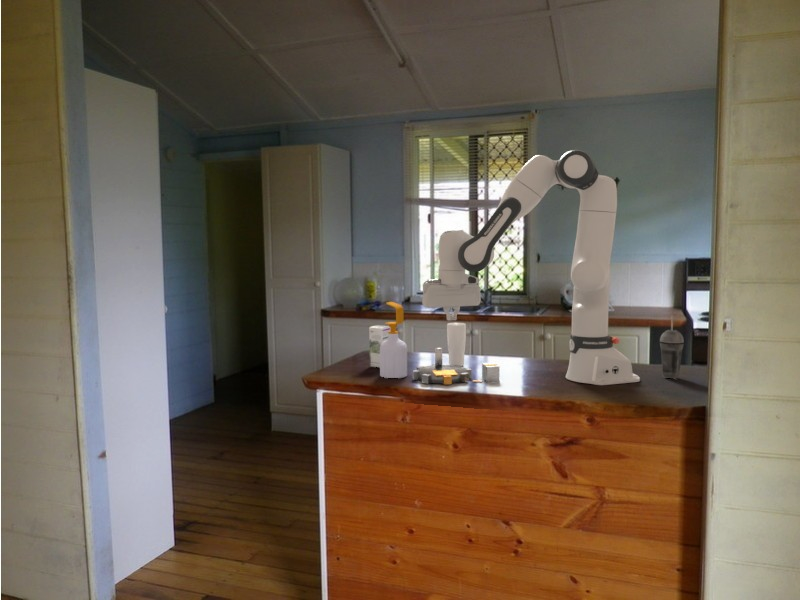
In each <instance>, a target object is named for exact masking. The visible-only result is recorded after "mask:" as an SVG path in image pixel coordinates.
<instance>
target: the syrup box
mask: <svg viewBox="0 0 800 600" xmlns="http://www.w3.org/2000/svg"><path fill="white" fill-rule="evenodd" d="M388 331H391V327H389V325H378V324H377V325H372V326H369V328H368V333H369V334H368V337H369V338H368V339H369V343H368V344H369V345H368V346H369V367H371V368H376V367H377V368H378V369H380V345H381V343H383V342H384V341H385V340H387V339H388ZM377 368H376V369H377Z"/></svg>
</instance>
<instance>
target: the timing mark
mask: <svg viewBox="0 0 800 600" xmlns="http://www.w3.org/2000/svg"><path fill="white" fill-rule="evenodd" d="M483 381H484V380H478V379H477V380H476V379H473V380H472V381H471V382H473V383H480V382H482V383H483Z"/></svg>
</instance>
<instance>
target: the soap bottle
mask: <svg viewBox="0 0 800 600" xmlns="http://www.w3.org/2000/svg"><path fill="white" fill-rule="evenodd" d="M385 305H388V306H390V307H392V308H394V309H395V321H388V322H385V323H384V325H385V326H389V327H390V331H388V339H387V340H385V341H384V342H383V343H381V345H380V368H379V377H381V378H383V377H384V379H388V378H398V379H402V378H405V377H407V376H408V346H407V343H406V342H404V341H403V340H401V339H400V338H399V331H398V330H396V328H397V327H398V325H400V324H403V323H404V320H405V319H404V307H403V306H402V305H401V304H399V303H396V302H394V301H388V302H387V301H386V303H385Z"/></svg>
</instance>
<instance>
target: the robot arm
mask: <svg viewBox="0 0 800 600" xmlns="http://www.w3.org/2000/svg"><path fill="white" fill-rule="evenodd" d="M554 186H559V187H562V188H564V189H568V190H577V191H578V193H579V197H580V198H579V199H580V200H579V201H580V202H579V208H578V209H579V210H578V217H577V219H578V220H577V228H576V236H575V237H576V238H575V242H574V243H575V244H574V249H573V253H572V254H573V256H572V262H571V268H570V280H571V282H572V283H571V284H573V294H572V306H571V307H572V308H571V333H570V335H569V352H570V355H569V362H568V368H567V372H566V374H565V378H566V380H568V381H572V382H575V383H583V384H591V385H595V386H609V385H617V384H627V383H628V384H629V383H639V382H640V381H641V380H640V379H641V377H640V376H639V375H638V374H635V373H634V372H633V367H632V362H631V361H630V359H629V357H626V355H624V354H623V353H622V352H620V351H619V350H618V349H616V348H615V347H614V344H615V345H618V344H620V339H619V337H615V336H613V337H612V336H610V335H609V305H610V287H611V285H610V284H611V283H610V282H611V269H610V265H611V258H612V257H611V256H612V250H613V243H614V236H615V226H616V220H617V219H616V218H617V207H618V190H617V189H618V188H617V183H616V181H615V180H614V179H613V178H612V177H610V176H608V175H604V174H603V175H602V174H599V171H598V168H597V167H596V165H595V163H594V160H593V158H592V157H591V155H589V153H587V152H586V151H584V150H580V149H572V150H569V151H566V152H565V153H563V155H561V157H560V158H559V159H557V160H553V159H551V158H550V157H548V156H546V155H541V154H536V155H534V156H533V157H532V158H530V159H529V160H528V161H527V162H526V163H525V164H524V165H523V166H522V167H521V168H520V169H519V170H518V172H517V173H516V174H515V176H514V177H513V178H512V180H511V181H510V183H509V184H508V186H507V188H506V189H505V191H504V193H503V195H502V198H501V199H500V202H499V203H498V206H497V208H495V209H496V210H494V213H492V215H491V216H490V218H489V219H488V220H487V221H486V222H485V224H484V225H483V227H482V228H481V229H480V230H479V232H478V233H477V234H476V235H475V236H473V235H471V234H469V233H468V232H466V231H464V229H461V228H458V229H457V228H455V229H450V230H447V231H444V232H443V233H442V234H440V236H439V242H438V260H439V264H438V265H439V266H438V272H437V273H438V278H435V279H426V280H425V281H424V282H423V283H422V292H423V293H422V300H421V304H422V306H423V307H424V308H425V309H436V308H438V309H439V308H443V311H444V313H445V315H446V321H448V322H449V321H457V320H458V317H457V315H458V314H459V312H460V310H461V307H474V306H475V307H476V306H479V305H480V304H481V300H482V299H481V298H482V297H481V288H480V285H479V282H480V279H479V277H477V276H474V275H470V274H467V273H466V271H467V272H471V273H479V272H481V271H483V270H485V269H486V267H488V266H490V265H491V264H492V262H493V261H494V258H495V250H494V247H495V245H497V243H498V242H499V241H500V239H501V238H502V237H503V235H504V234H505V233H506V232H507V230H508V229H509V228H510V227H511V225H513V223H515V222H516V221H518V220H519V219H522V218H523V217H525V216H526V215H528V214H530V212H531V211H532V210H533V209H534V208H535V207H536V206H537V205H539V203H540V202H541V200H542V199H543V198H544V196H545V195H546V194H547V192H548V191H549V190H550V189H551V188H552V187H554ZM451 307H452V308H453V313H452V314H451V313H450V311H451Z"/></svg>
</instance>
